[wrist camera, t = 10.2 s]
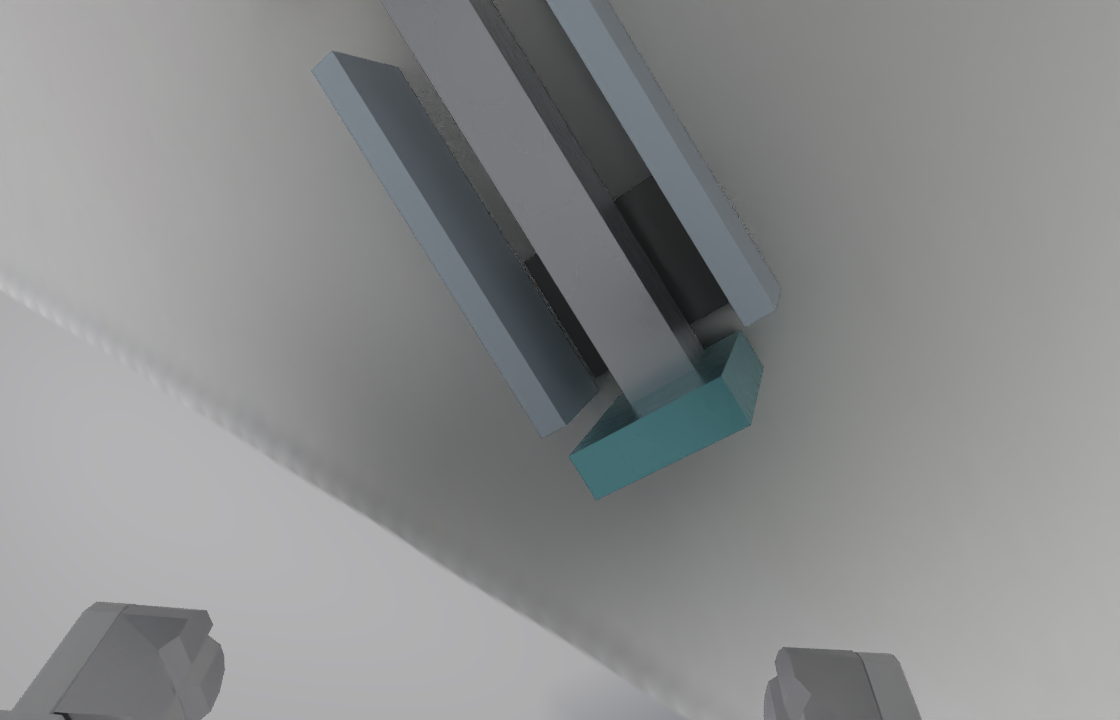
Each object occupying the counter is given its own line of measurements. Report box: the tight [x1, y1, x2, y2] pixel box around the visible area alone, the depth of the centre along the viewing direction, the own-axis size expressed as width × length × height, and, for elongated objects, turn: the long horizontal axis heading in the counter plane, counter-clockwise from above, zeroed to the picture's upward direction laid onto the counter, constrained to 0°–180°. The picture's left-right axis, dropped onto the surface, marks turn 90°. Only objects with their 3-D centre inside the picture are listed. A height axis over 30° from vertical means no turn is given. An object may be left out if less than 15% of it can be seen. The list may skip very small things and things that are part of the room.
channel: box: [311, 0, 781, 438], centre depth 24 cm, size 14×8×4 cm, turn 34°
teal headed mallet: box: [380, 0, 764, 500], centre depth 22 cm, size 20×5×6 cm, turn 34°
